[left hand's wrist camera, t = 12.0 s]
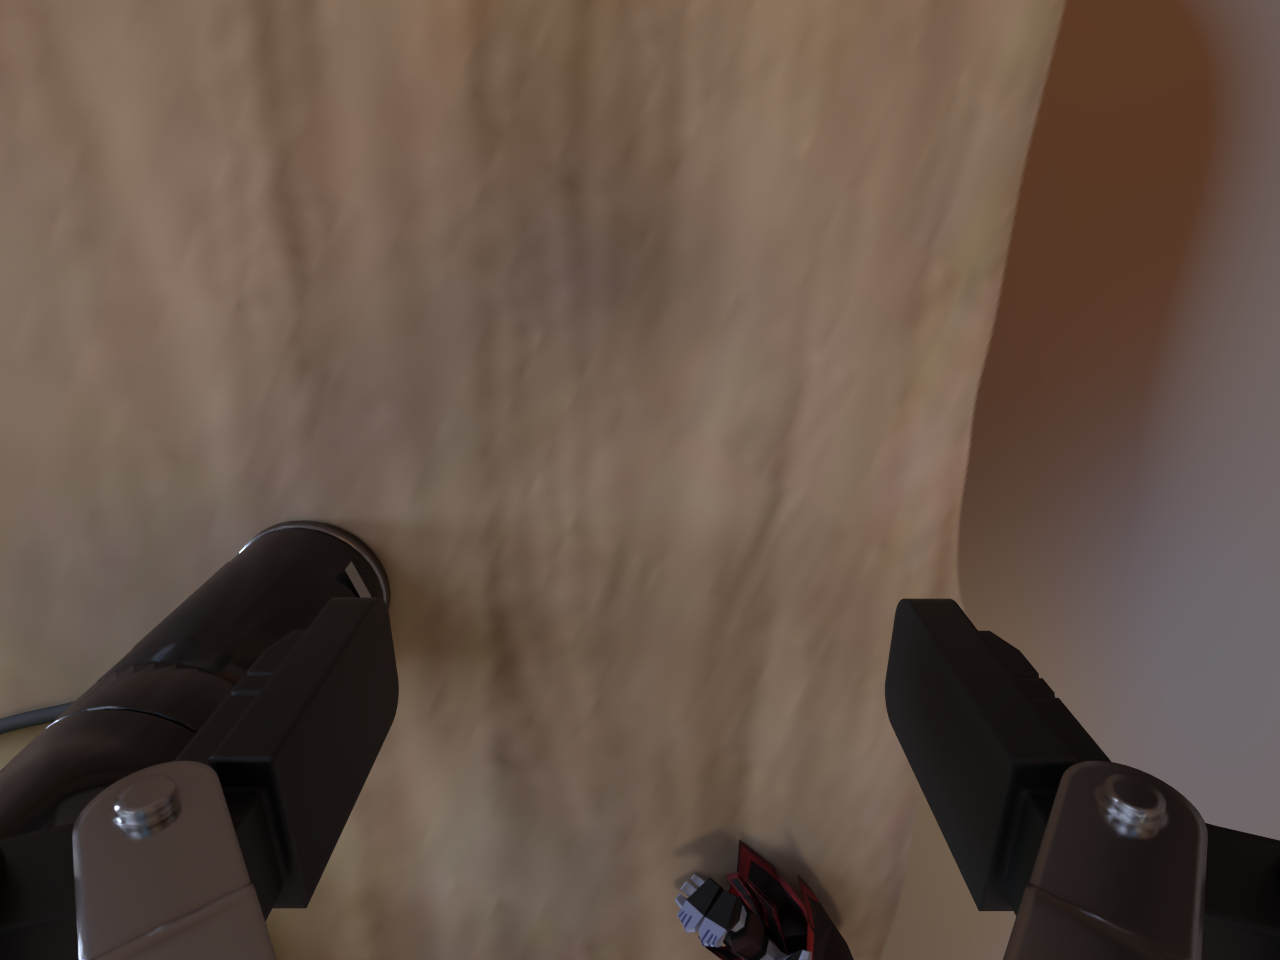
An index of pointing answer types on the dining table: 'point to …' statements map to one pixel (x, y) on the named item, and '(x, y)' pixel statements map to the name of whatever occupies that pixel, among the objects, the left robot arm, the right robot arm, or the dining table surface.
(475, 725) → the dining table surface
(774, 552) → the dining table surface
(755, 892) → the toy
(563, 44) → the dining table surface
